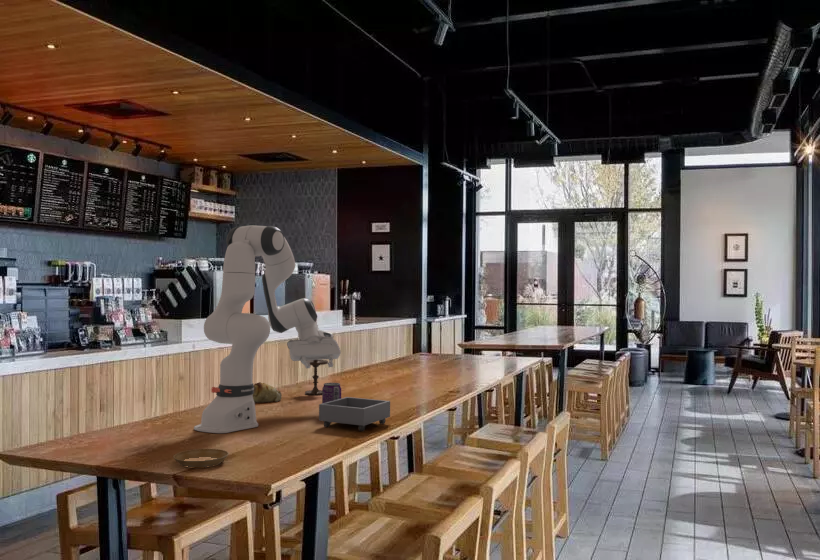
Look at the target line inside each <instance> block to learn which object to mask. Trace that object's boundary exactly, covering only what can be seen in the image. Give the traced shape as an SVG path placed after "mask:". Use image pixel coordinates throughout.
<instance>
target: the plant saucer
mask: <svg viewBox="0 0 820 560" xmlns="http://www.w3.org/2000/svg"><path fill="white" fill-rule="evenodd" d="M228 456H229V452H228V451H227V450H224V449H219V448H195V449H189V450H183V451H180V452H177V453H175V454H174V455H173V459H174V460H175V461H176V462H177V463H178V464H179V465H180V466H181V465H182V467H183V466H188V467H205V468H208V467H207V466H212V467H214V466H213V465H216V466H218V465H221V462H222V463H223V461H225V460H226V458H227V457H228ZM199 457H211V458H217V459H213V460H205V461H184V460H185V459H189V458H199ZM217 464H218V465H217ZM188 467H187V468H188Z"/></svg>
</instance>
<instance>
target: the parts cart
mask: <svg viewBox="0 0 820 560" xmlns="http://www.w3.org/2000/svg"><path fill="white" fill-rule="evenodd" d="M388 418H391V400H383V399H372V398H361V397H354V396H353V397H351V396H345V397H341V399H337V400H334V401H330V402H326V403H322V402H321V403H319V404H318V421H321V422H323V427H324V428H330V426H331V423H336V424H337V423H338V424H343V425H345V424H347V425H354V426H358V429H357V430H358V432H364V431H365V430H366V426H367V425H370V424H373V423H376V422H379V424H380V425H385V424H386V419H388Z"/></svg>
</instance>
